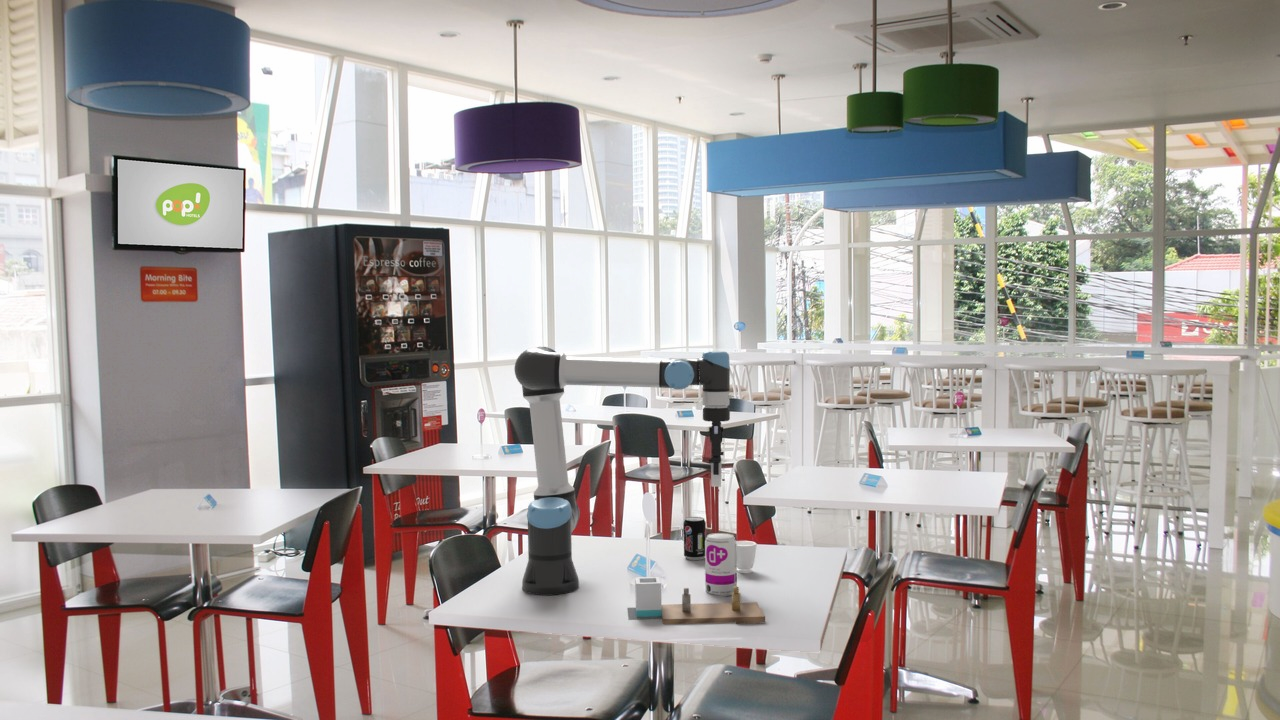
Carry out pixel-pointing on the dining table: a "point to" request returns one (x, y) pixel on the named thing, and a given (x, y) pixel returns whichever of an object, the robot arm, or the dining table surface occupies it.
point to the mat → (633, 617)
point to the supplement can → (720, 564)
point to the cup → (745, 555)
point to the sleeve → (648, 596)
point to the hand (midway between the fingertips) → (716, 482)
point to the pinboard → (712, 611)
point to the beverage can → (694, 538)
